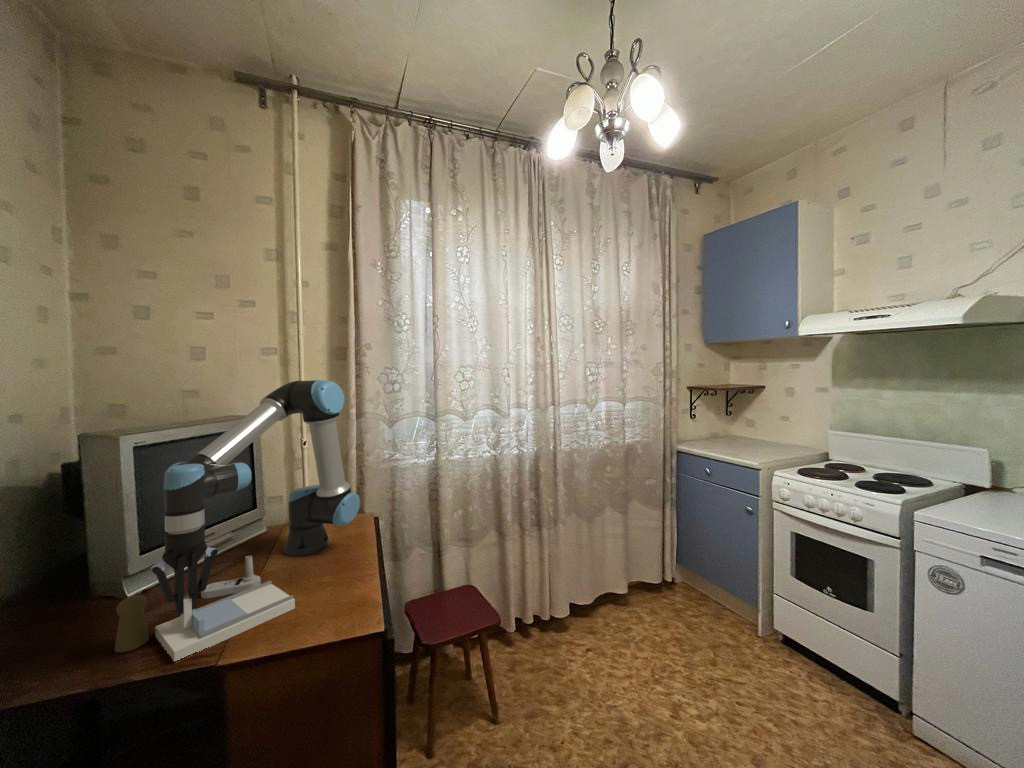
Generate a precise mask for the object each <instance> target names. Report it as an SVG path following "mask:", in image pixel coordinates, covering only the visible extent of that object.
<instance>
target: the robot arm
mask: <svg viewBox="0 0 1024 768" xmlns="http://www.w3.org/2000/svg"><path fill="white" fill-rule="evenodd" d="M342 389H343V388H341V387H340V385H338V384H337V383H336V382H334V381H331V380H325V379H324V380H323V379H320V380H319V379H317V380H315V379H313V380H293V381H290V382H288V383H285V384H283V385H282V386H280V387H278V388H276V389H275V390H273V391H272V392H270V393H269V394H267V395H266V396H265V397H263V398H262V399H261V400H260V401H259V405H258V406H257V407H255V409H253V410H252V411H250V412H249V413H247V415H245V416H244V417H243V418H241V419H240V420H239V421H238V422H236V423H235V424H234V425H232V426H231V427H229V429H228V430H226V431H225V432H224V433H222V434H221V435H219V436H218V437H217V438H215V439H214V440H213V441H211V442H210V443H209V444H208V445H207V446H205V447H204V448H203V449H201V450H200V451H199V452H198V453H196V454H195V455H194V456H192V457H191V458H190V459H188V460H187V461H180V462H176V463H173V464H172V465H170V466H169V467H168V468H167V469H166V470H165V471H164V474H163V475H164V477H163V501H164V503H163V504H164V505H163V507H164V508H163V509H164V532H166V533H165V534H164V552H163V555H162V557H161V560H160V561H158V562H156V564H152V565H150V566H149V570H150V571H151V572H153V574H154V575H155V576H156V577H157V578H156V579H157V580H158V584H159V586H160V589H161V592H162V594H163V597H164V599H165V601H166V602H167V603H168V604H171V603H175V604H174V606H175V607H174V608H175V610H174V611H175V613H176V615H178V616H180V617H181V625H182V626H183V627H184V628H186V627H188V626H191V625H192V610H193V609H197V607H198V605H197V604H198V602H197V600H198V599H197V598H198V597H199V594H201V591H204V590H205V589H206V587H207V585H208V581H209V579H210V575H211V570H212V566H213V563H214V559H215V558H216V557H217V555H218V553H219V550H218V549H217V548H216V547H213V546H212V547H209V546H208V545H207V542H206V533H205V532H206V527H205V523H206V521H205V519H206V518H205V503H206V502H205V501H206V500H207V499H212V498H215V497H218V496H221V495H225V494H230V493H235V492H238V491H239V490H243V489H245V488H247V487H248V486H249V485H250V484H251V481H252V470H251V468H250V466H249V465H248V464H247V463H245V462H240V461H239V462H231V461H232V460H234V458H235V457H237V456H238V455H240V453H242V452H243V451H244V450H245V449H247V447H249V445H252V443H253V442H254V441H256V440H257V439H258V438H259V437H260V436H261V435H263V434H264V433H265V432H266V431H268V429H270V428H271V427H272V426H274V424H276V423H277V422H281V421H284V420H285V419H286V418H287V417H289V416H291V415H294V414H302V421H303V422H304V424H307V425H308V426H309V431H310V438H311V442H312V448H313V449H312V450H313V455H314V461H315V465H316V471H317V472H316V473H317V479H318V483H319V484H312V485H308V486H303V487H299V488H295V489H294V490H291V492H290V493H289V495H288V521H289V523H288V526H289V528H288V534H287V536H286V539H285V543H284V545H283V553H284V555H287V556H290V557H301V556H302V557H303V556H309V555H312V554H317V553H320V552H321V551H323V550H325V549H326V548H327V547H328V546H329V543H330V540H329V535H328V532H327V530H326V528H325V524H327V525H334V526H346V525H349V524H350V523H351V522H352V521H353V520H354V519H355V518H356V516H357V514H358V512H359V510H360V505H361V500H360V496H359V494H357V493H355V492H352V489H351V488H352V487H351V484H350V482H347V481H346V478H345V477H346V476H345V472H344V466H343V464H344V463H343V459H342V452H341V445H340V441H339V434H338V433H339V432H338V427H337V419H338V418H339V417H340V412H341V411H342V410H343V407H344V405H345V395H344V392H343V390H342ZM230 462H231V463H230ZM203 556H204V559H203V562H202V565H201V570H200V573H199V578H198V569H199V567H198V562H199V561H200V560H201V558H202V557H203ZM166 564H167V565H168V566H170V567H171V568H172V569H173V572H174V573H173V574H174V576H173V577H174V594H173V592H172V591H173V590H172V589H171V585H170V583H169V581H168V577H167V574H166V573H165V570H166ZM185 568H187V593H188V594H187V595H185V582H184V581H185V577H184V575H185Z"/></svg>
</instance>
